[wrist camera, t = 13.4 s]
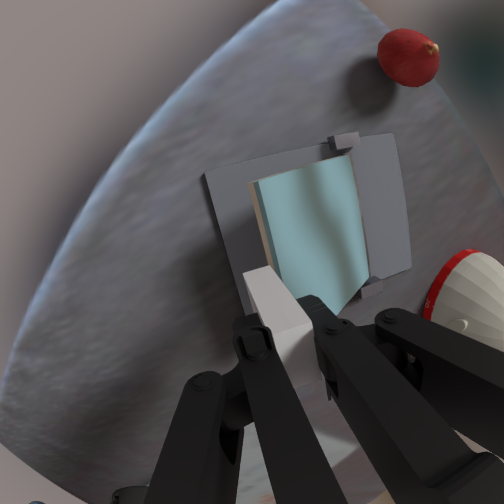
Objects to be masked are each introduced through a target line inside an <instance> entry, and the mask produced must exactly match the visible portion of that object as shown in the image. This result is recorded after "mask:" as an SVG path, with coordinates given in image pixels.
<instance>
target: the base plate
mask: <svg viewBox="0 0 504 504" xmlns="http://www.w3.org/2000/svg"><path fill="white" fill-rule="evenodd" d="M360 142H361V145H360V146H354V147H349V148H343V149H338V150H332V151H330V147H329V143H325V144H320V145H315V146H310V147H305V148H300V149H295V150H291V151H286V152H282V153H277V154H273V155H268V156H264V157H260V158H256V159H252V160H248V161H244V162H240V163H236V164H232V165H228V166H224V167H221V168H217V169H213V170H210V171H206V172H204V173H205V176H206V180H207V184H208V187H209V191H210V195H211V198H212V202H213V206H214V209H215V213H216V216H217V220H218V223H219V227H220V231H221V234H222V238H223V241H224V245H225V248H226V252H227V255H228V259H229V262H230V265H231V269H232V272H233V276H234V279H235V283H236V286H237V289H238V293H239V296H240V299H241V303H242V306H243V309H244V313H245V316H246V315H250V314H253V313H254V312H253V308H252V305H251V301H250V298H249V294H248V291H247V287H246V284H245V280H244V277H243V273H245V272H248V271H252V270H255V269H258V268H262V267H265V266H268V261H267V257H266V253H265V249H264V245H263V241H262V237H261V233H260V229H259V225H258V221H257V217H256V214H255V210H254V206H253V202H252V198H251V194H250V190H249V186H248V183H250V182H253V181H256V180H259V179H262V178H266V177H269V176H272V175H275V174H279V173H282V172H285V171H288V170H292V169H295V168H299V167H302V166H306V165H309V164H313V163H316V162H320V161H323V160H327V159H331V158H334V157H338V156H341V153H345V152H351V155H352V159H353V164H354V169H355V174H356V179H357V184H358V189H359V195H360V200H361V206H362V212H363V218H364V225H365V231H366V238H367V245H368V253H369V261H370V270H371V277H372V276H376V277H378V278H380V279H384V278H387V277H389V276H392V275H394V274H397V273H399V272H402V271H404V270H407V269H409V268H411V267H412V263H411V249H410V237H409V227H408V217H407V209H406V202H405V194H404V188H403V181H402V175H401V169H400V164H399V158H398V153H397V148H396V143H395V139H394V134H393V133H386V134H379V135H372V136H366V137H360Z"/></svg>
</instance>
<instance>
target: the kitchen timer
mask: <svg viewBox="0 0 504 504" xmlns="http://www.w3.org/2000/svg"><path fill="white" fill-rule="evenodd" d="M423 318H425V319H427V320H430V321H432V322H435V323H437V324H439V325H442V326H444V327H446V328H449V329H451V330H453V331H456V332H458V333H460V334H463V335H465V336H467V337H470V338H472V339H474V340H477V341H479V342H481V343H484V344H486V345H488V346H491V347H493V348H495V349H498V350H500V351H502V352H504V267H503V266H502V265H501V264H500V263H499V262H497V261H496V260H495V259H494V258H492V257H490V256H488V255H486V254H484V253H482V252H479V251H476V250H473V249H470V250H463V251H461V252H460V253H458V254H456V255H454V256H453V257H452V258H451V259H450V260H449V261H448V262H447V263H446V264H445V265H444V266H443V268H442V269H441V271H440V272H439V274H438V275H437V277H436V278H435V280H434V282H433V285H432V287H431V289H430V291H429V293H428V296H427V300H426V303H425V307H424V312H423Z"/></svg>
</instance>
